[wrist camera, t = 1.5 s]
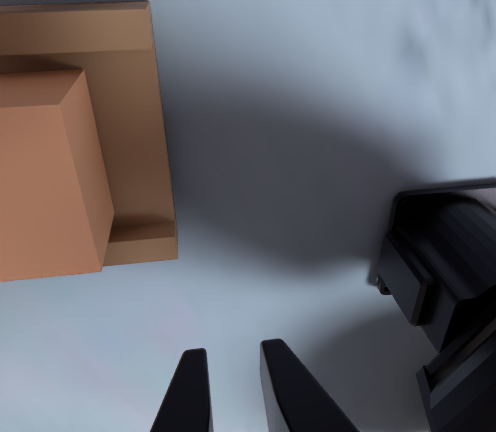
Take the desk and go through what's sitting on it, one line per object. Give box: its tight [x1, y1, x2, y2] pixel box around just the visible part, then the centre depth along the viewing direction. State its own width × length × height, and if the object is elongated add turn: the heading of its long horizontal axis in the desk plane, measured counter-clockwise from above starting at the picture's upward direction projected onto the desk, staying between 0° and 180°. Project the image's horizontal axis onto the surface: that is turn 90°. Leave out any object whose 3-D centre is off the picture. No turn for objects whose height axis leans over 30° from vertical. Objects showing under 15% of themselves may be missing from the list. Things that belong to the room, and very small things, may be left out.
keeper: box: [0, 69, 114, 282], centre depth 15 cm, size 5×6×4 cm
